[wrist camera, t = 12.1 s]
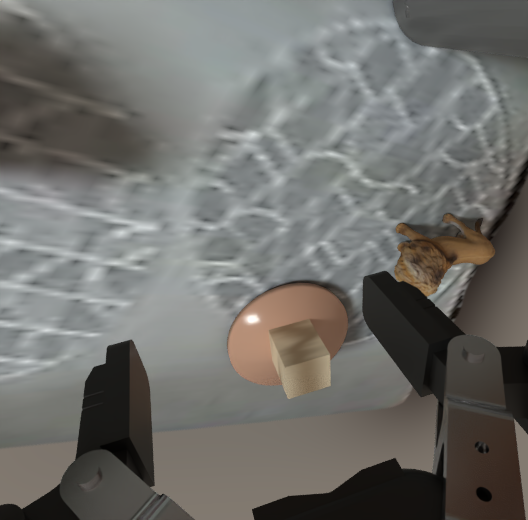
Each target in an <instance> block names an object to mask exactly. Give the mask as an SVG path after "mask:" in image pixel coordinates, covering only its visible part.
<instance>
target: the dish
mask: <svg viewBox="0 0 528 520" xmlns="http://www.w3.org/2000/svg"><path fill="white" fill-rule="evenodd" d="M306 319H309V320H310V321H311V323H312V325H313V326H314V328H315V330H316V331H317V333H318V335H319V337H320V338H321V340H322V342H323V343H324V345H325V347H326V348H327V350H328V352H329V353H330V360H331V359H332V358H333V357H334V356H335V355H336V353H337V352H338V350H339V349H340V348H341V346H342V344H343V342H344V340H345V337H346V334H347V330H348V317H347V313H346V310H345V308H344V306H343V305H342V303H341V302H340V300H339V299H338V298H337V297H336V295H335V294H334V293H332V292H331V291H330V290H328V289H326V288H324V287H322V286H319V285H316V284H310V283H292V284H287V285H282V286H279V287H276V288H273V289H271V290H269V291H266V292H265V293H263V294H261V295H259V296H258V297H256V298H255V299H253V300H252V301H251V302H250V303H249V304H247V305H246V306H245V307H244V308H243V309H242V311H241V312H240V313H239V314H238V316H237V317H236V318H235V320H234V322H233V324H232V325H231V328H230V331H229V334H228V338H227V349H228V354H229V357H230V360H231V363H232V365H233V367H234V369H235V370H236V371H237V373H239V374H240V375H241V376H242V377H243V378H245V379H247V380H249V381H251V382H254V383H257V384H262V385H282V383H281V380H280V378H279V375H278V373H277V371H276V368H275V366H274V363H273V361H272V354H271V347H270V339H269V331H268V330H271V329H274V328H278V327H281V326H285V325H289V324H292V323H296V322H299V321H303V320H306Z"/></svg>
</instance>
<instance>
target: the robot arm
mask: <svg viewBox="0 0 528 520" xmlns="http://www.w3.org/2000/svg"><path fill="white" fill-rule="evenodd" d="M393 7H394V12H395V17H396V19H397V22H398V24H399V27H400V28H401V30H402V31H403V33H404V34H405V35H406V36H407V37H408V38H409V39H410V40H412V41H413V42H415V43H417V44H420V45H424V46H432V47H440V48H448V49H454V50H463V51H472V52H480V53H489V54H498V55H506V56H515V57H524V58H528V0H393ZM362 310H363V316H364V319H365V322H366V324H367V326H368V327H369V328H370V330H371V331H372V333H373V334H374V335H375V337H376V338H377V339H378V341H379V342H380V343H381V345H382V346H383V347H384V349H385V350H386V351H387V353H388V354H389V355H390V357H391V358H392V359H393V361H394V362H395V363H396V365H397V366H398V367H399V369H400V370H401V371H402V373H403V374H404V375H405V377H406V378H407V379H408V381H409V382H410V383H411V385H412V386H413V387H414V389H415V390H416V391H417V393H418V394H419V395H420V397H424V396H426V395H430V394H434V395H435V396H436V398H437V399H438V402H437V411H436V431H435V448H434V461H433V469H432V473H430V472H426V471H422V470H416V469H401V467H400V465H399V464H398V462H397V460H396V459H395V458H393V459H391V460H388V461H385V462H382V463H380V464H377V465H374V466H372V467H368V468H366V469H363V470H361V471H359V472H358V473H357V474H355V475H354V476H353V477H351V478H350V479H349V480H347V481H346V482H344V483H343V484H342V485H340V486H339V487H338V488H336V489H335V490H333V491H332V492H330V493H324V494H311V495H298V496H288V497H285V498H282V499H279V500H277V501H274V502H271V503H268V504H265V505H263V506H260V507H257V508H254V509H252V511H253V515H254V520H526V517H525V509H524V500H523V492H522V483H521V475H520V466H519V458H518V450H517V441H516V433H515V423H514V419H515V420H516V421H517V422H518V423H519V425H520V426H521V427H522V428H523V429H524V430H525V431H526V433H527V434H528V340H527V343H526V346H524V347H523V346H522V347H495V345H493V344H492V343H491V342H489V341H487V340H486V339H484V338H481V337H478V336H474V335H466V334H465V333H464V332H462V331H461V330H460V329H459V328H458V327H457V326H456V325H455V324H454V323H453V322H452V321H451V320H450V319H449V318H448V317H447V316H446V315H445V314H444V313H443V312H442V311H441V310H440V309H439V308H438V307H435V304H434V303H433V302H432V301H431V300H430V299H427V297H426V296H425V295H424V294H423V293H422V292H421V291H420V290H419V289H418V288H417V287H415V286H413V285H411V284H409V283H407V282H405V281H401V282H397V281H396V280H395V279H394V278H393V277H392V276H391V275H390V274H389V273H388V272H387V271H382V272H379V273H375V274H371V275H368V276H365V277H364V279H363V306H362ZM82 409H83V411H82V413H81V421H80V429H79V437H78V445H77V454H76V459H75V461H74V462H73V463H72V464H71V465H70V466H69V467H68V468H67V470H66V471H65V473H64V475H63V477H62V479H61V483H60V484H59V485H58V486H57V487H55V488H54V489H53V490H51V491H50V492H49V493H47V494H45V495H44V496H42V497H41V498H39V499H38V500H36V501H34V502H33V503H31V504H30V505H28V506H26V507H25V508H23V509H21V508H20V507H18V506H17V505H14V504H4V505H0V520H195V519H194V518H192V517H191V516H190V515H189V514H188V513H187V512H185V511H184V510H183V509H182V508H181V507H180V506H179V505H178V504H176V503H175V502H174V501H173V500H172V499H170V498H169V497H168V496H166V495H165V494H162V495H159V494H157V493H156V492H155V491H154V490H153V489H151V488H150V487H152V486H154V463H153V443H152V422H151V402H150V387H149V381H148V377H147V374H146V371H145V368H144V366H143V363H142V361H141V359H140V356H139V354H138V351H137V349H136V347H135V344H134V342H133V341H132V340H128V341H124V342H121V343H117V344H114V345H110V346H108V347H107V353H106V364H103V365H99V366H96V367H94V368H93V369H92V371H91V373H90V375H89V376H88V378H87V380H86V381H85V389H84V399H83V405H82Z"/></svg>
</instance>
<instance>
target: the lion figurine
mask: <svg viewBox="0 0 528 520" xmlns="http://www.w3.org/2000/svg"><path fill="white" fill-rule="evenodd" d="M482 221H483V218H481V219H478V220H477V221H476V223H475V230H476V231H474V230H471V229H470V228H468V227H466V226H465V224H464V223H463V222H461V221H459V220H457V219H456V218H455V217H453V216H452V215H451V214H445V215H444V216H443V222H444V223H450V224H453V225H455V226H456V227H457V228H459V229H460V230H461V233H459V234H458V235H457V236H456V237H451V236H440V237H435V238H432V239H429V238H428V237H426V236H423V235H421V234H420V233H418V232H416V231H414V230H412V229H411V228H410V227H408V226H407V225H405V224H404V223H400V224H398V225H397V227H396V232H397V233H401V234H402V235H406V236H408V237H409V239H410V240H412V242H411V243H409V242H401V243H400V244H399V245H398V247H397V248H398V250H399V251H400V252H401V256H400V258H399V260H398V263H397V265H396V266H395V270H394V272H395V277H396V280H398V281H399V282H401V281H405V282H407V283H409V284H411V285H413V286H415V287H417V288H418V289H419V290H420V291H421V292H422V293H423V294H424V295H425V296H429V295H430V294H433V293H435V292H436V291H437V287H439V284H440V283H441V279H442V278H443V277H444V274H445V273H446V272H447V270H448V269H449V268H451V266H452V265H456V264H459V263H473V264H483V263H485V262H487V261H488V260H489V259H490V258H491V257H493V256H494V254H495V250H494V248H493V246H492V244H491V242H490V241H489V240H488V239H487V238H486V237H484V236H483V235H482V233H481V231H480V226H481V224H482Z"/></svg>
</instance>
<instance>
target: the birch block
mask: <svg viewBox="0 0 528 520" xmlns="http://www.w3.org/2000/svg"><path fill="white" fill-rule="evenodd" d="M268 331H269V339H270V347H271V354H272V361H273V363H274V366H275V368H276V371H277V373H278V375H279V378H280V380H281V383H282V385H283V387H284V390H285V392H286V395H287V397H288V399H290V398H293V397H296V396H300V395H303V394H306V393H309V392H312V391H316V390H319V389H322V388H325V387H328V386H331V383H330V353H329V352H328V350H327V348H326V347H325V345H324V343H323V342H322V340H321V338H320V337H319V335H318V333H317V331H316V330H315V328H314V326H313V325H312V323H311V321H310V320H309V319H306V320H303V321H299V322H296V323H292V324H289V325H285V326H281V327H278V328H274V329H271V330H268Z"/></svg>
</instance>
